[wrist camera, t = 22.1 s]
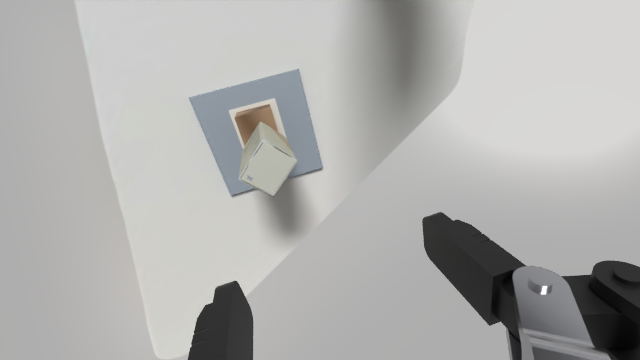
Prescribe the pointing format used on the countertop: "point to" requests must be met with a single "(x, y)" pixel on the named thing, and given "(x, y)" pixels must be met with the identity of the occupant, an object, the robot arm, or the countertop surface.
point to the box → (266, 160)
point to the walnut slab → (254, 120)
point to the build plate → (225, 103)
